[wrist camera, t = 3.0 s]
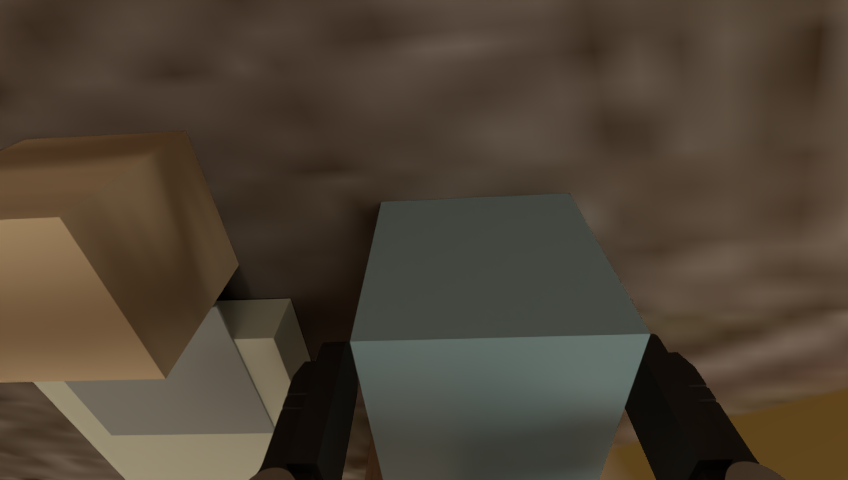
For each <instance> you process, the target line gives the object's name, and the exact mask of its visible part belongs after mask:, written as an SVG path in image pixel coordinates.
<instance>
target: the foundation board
mask: <svg viewBox="0 0 848 480" xmlns="http://www.w3.org/2000/svg"><path fill="white" fill-rule="evenodd" d="M305 361H311V360H310V357H309V354H308V350H307V347H306V344H305V341H304V338H303V335H302V332H301V329H300V326H299V323H298V320H297V317H296V314H295V311H294V308H293V305H292V302H291V299H260V300H229V301H215V303H214V305H213V306H212V308H211V309H210V311H209V312H208V314H207V315H206V317H205V319H204V320H203V322H202V323H201V325H200V326H199V328H198V329H197V331H196V333H195V334H194V336H193V337H192V339H191V340H190V342H189V343H188V345H187V347H186V348H185V350H184V351H183V353H182V354H181V356H180V357H179V359H178V361H177V362H176V364H175V365H174V367H173V368H172V370H171V371H170V373H169V375H168V376H167V378H166V379H142V380H94V381H47V382H34V384H35V385H36V386H37V387H38V388H39V389H40V390H41V391H42V392H43V393H44V394H45V395H46V396H47V397H48V398H49V399H50V400H51V401H52V403H53V404H54V405H55V406H56V407H57V408H58V409H59V410H60V411H61V412H62V413H63V414H64V415H65V416H66V417H67V418H68V419H69V420H70V422H71V423H72V424H73V425H74V426H75V427H76V428H77V429H78V430H79V431H80V432H81V433H82V434H83V435H84V436H85V437H86V438H87V439H88V441H89V442H90V443H91V444H92V445H93V446H94V447H95V448H96V449H97V450H98V451H99V452H100V453H101V454H102V455H103V456H104V457H105V459H106V460H107V461H108V462H109V463H110V464H111V465H112V466H113V467H114V468H115V469H116V470H117V471H118V472H119V473H120V474H121V475H122V476H123V478H124V479H125V480H249V479H250V478H251V477H253V476H254V475H255V474H257V472H258V471H259V469H260V467H261V465H262V463H263V460H264V458H265V455H266V452H267V449H268V446H269V443H270V440H271V438H272V435H273V432H274V429H275V426H276V423H277V420H278V418H279V415H280V412H281V410H282V406H283V403H284V400H285V398H286V396H287V392H288V389H289V386H290V383H291V380H292V377H293V376H294V374H295V373H296V372H297V371H298V369H299V368H300V367H301V366H302V364H303V363H304V362H305Z"/></svg>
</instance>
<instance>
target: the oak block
mask: <svg viewBox="0 0 848 480" xmlns="http://www.w3.org/2000/svg"><path fill="white" fill-rule="evenodd" d="M238 266H239V263H238V261H237V258H236V256H235V253H234V251H233V248H232V246H231V243H230V241H229V238H228V236H227V233H226V231H225V228H224V226H223V223H222V221H221V218H220V216H219V213H218V211H217V208H216V206H215V203H214V200H213V198H212V195H211V193H210V190H209V188H208V185H207V183H206V180H205V178H204V175H203V173H202V170H201V168H200V165H199V163H198V160H197V158H196V155H195V153H194V150H193V148H192V145H191V143H190V140H189V138H188V135H187V133H186V131H172V132H154V133H135V134H117V135H98V136H80V137H62V138H43V139H25V140H23V141H21V142H18V143H16V144H14V145H12V146H9V147H7V148H5V149H3V150H0V382H47V381H94V380H142V379H166V378H167V376H168V375H169V373H170V371H171V370H172V368H173V367H174V365H175V364H176V362H177V361H178V359H179V357H180V356H181V354H182V353H183V351H184V350H185V348H186V347H187V345H188V343H189V342H190V340H191V339H192V337H193V336H194V334H195V333H196V331H197V329H198V328H199V326H200V325H201V323H202V322H203V320H204V319H205V317H206V315H207V314H208V312H209V311H210V309H211V308H212V306H213V305H214V303H215V301H216V300H217V298H218V297H219V295H220V294H221V292H222V291H223V289H224V287H225V286H226V284H227V283H228V281H229V280H230V278H231V277H232V275H233V273H234V272H235V270H236V269H237V267H238Z"/></svg>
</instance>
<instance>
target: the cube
mask: <svg viewBox="0 0 848 480" xmlns="http://www.w3.org/2000/svg"><path fill="white" fill-rule="evenodd" d="M649 337H650V332H649V330H648V329H647V327H646V325H645V323H644V322H643V320H642V318H641V317H640V315H639V313H638V311H637V310H636V308H635V306H634V304H633V303H632V301H631V299H630V297H629V296H628V294H627V292H626V291H625V289H624V287H623V285H622V284H621V282H620V280H619V278H618V277H617V275H616V273H615V271H614V270H613V268H612V266H611V265H610V263H609V261H608V259H607V258H606V256H605V254H604V252H603V251H602V249H601V247H600V246H599V244H598V242H597V240H596V239H595V237H594V235H593V233H592V232H591V230H590V228H589V226H588V225H587V223H586V221H585V220H584V218H583V216H582V214H581V213H580V211H579V209H578V207H577V206H576V204H575V202H574V200H573V199H572V197H571V195H570V194H569V193H564V194H542V195H520V196H498V197H476V198H454V199H432V200H411V201H389V202H381V206H380V210H379V215H378V219H377V224H376V228H375V233H374V237H373V242H372V246H371V250H370V255H369V259H368V264H367V268H366V273H365V277H364V281H363V286H362V290H361V295H360V299H359V304H358V308H357V313H356V317H355V321H354V326H353V330H352V335H351V339H350V344H351V348H352V352H353V356H354V361H355V365H356V369H357V373H358V377H359V382H360V386H361V390H362V394H363V398H364V402H365V407H366V411H367V415H368V419H369V423H370V427H371V432H372V436H373V440H374V444H375V448H376V452H377V457H378V461H379V465H380V469H381V473H382V478H383V480H599V478H600V475H601V473H602V470H603V467H604V464H605V461H606V458H607V455H608V453H609V450H610V447H611V444H612V441H613V439H614V436H615V433H616V430H617V427H618V424H619V422H620V419H621V416H622V413H623V410H624V407H625V405H626V402H627V399H628V396H629V393H630V390H631V388H632V385H633V382H634V379H635V376H636V373H637V371H638V368H639V365H640V362H641V359H642V356H643V354H644V351H645V348H646V345H647V342H648V340H649Z"/></svg>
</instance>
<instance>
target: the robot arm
mask: <svg viewBox="0 0 848 480" xmlns="http://www.w3.org/2000/svg"><path fill="white" fill-rule="evenodd" d="M357 389H358V380H357V373H356V368H355V364H354V360H353V355H352V351H351V347H350V344H349V342H325V343H323V344H322V346H321V348H320V351H319V355H318V358H317V361H305V362H304V363H303V364H302V366H301V367H300V368H299V369H298V371H297V372H296V373H295V374H294V376H293V377H292V380H291V383H290V386H289V389H288V392H287V396H286V398H285V400H284V403H283V406H282V410H281V412H280V415H279V418H278V420H277V423H276V426H275V429H274V432H273V435H272V438H271V440H270V443H269V446H268V449H267V452H266V455H265V458H264V460H263V463H262V465H261V467H260V469H259V471H258V472H257V474H255V475H254V476H253V477H251V478H250V479H249V480H342V474H343V469H344V463H345V458H346V453H347V447H348V442H349V436H350V431H351V425H352V420H353V414H354V409H355V403H356V398H357ZM625 409H626V412H627V414H628V416H629V418H630V421H631V423H632V425H633V428H634V430H635V432H636V434H637V437H638V439H639V441H640V444H641V446H642V448H643V450H644V453H645V455H646V457H647V459H648V462H649V464H650V466H651V469H652V471H653V473H654V476H655V478H656V480H785V479H784V478H783V477H782V476H781V475H779V474H778V473H776V472H775V471H773V470H771V469H769V468H767V467H765V466H763V465H760V464H759V462H758V461H757V460H756V459H755V457H754V456H753V454H752V453H751V451H750V450H749V448H748V447H747V445H746V444H745V442H744V441H743V439H742V438H741V436H740V435H739V433H738V432H737V430H736V429H735V427H734V426H733V424H732V423H731V421H730V419H729V418H728V416H727V415H726V413H725V412H724V410H723V409H722V407H721V406H720V404H719V403H717V402H716V398H715V397H714V395H713V394H712V392H711V391H710V389H709V388H707V387H706V383H705V382H704V380H703V379H702V377H701V376H700V374H699V373H698V371H697V370H696V368H695V367H694V366H693V365H692V364H691V363H689V362H688V361H687V360H686V359H685V358H683V357H682V356H681V355H680V354H679V353H678V352H674V353H668V351H667V350H666V348H665V347H664V345H663V343H662V342H661V340H660V339H659V337H658V336H657V335H655V334H650V337H649V340H648V342H647V345H646V348H645V351H644V354H643V356H642V359H641V362H640V365H639V368H638V371H637V373H636V376H635V379H634V382H633V385H632V388H631V390H630V393H629V396H628V399H627V402H626V405H625Z"/></svg>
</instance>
